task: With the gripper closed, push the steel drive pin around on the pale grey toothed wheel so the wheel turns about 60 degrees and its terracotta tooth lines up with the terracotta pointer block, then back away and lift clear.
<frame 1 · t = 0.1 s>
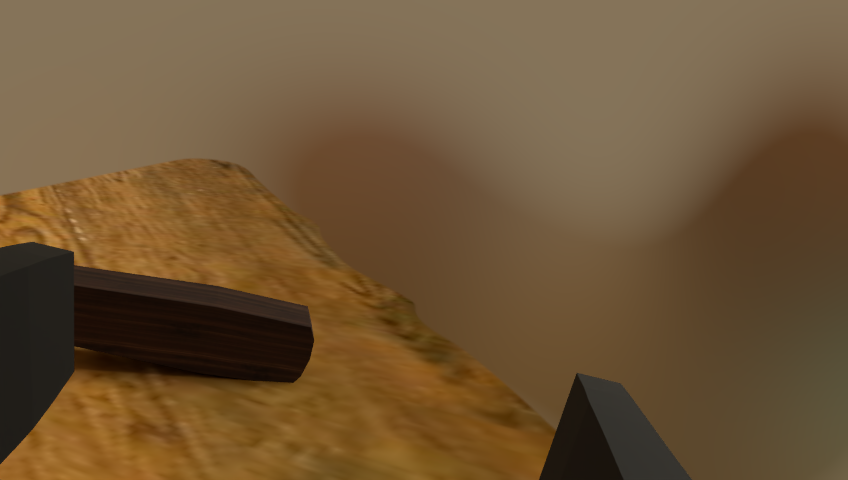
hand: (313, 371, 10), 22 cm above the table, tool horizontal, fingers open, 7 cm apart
hammer: (66, 363, 46), on the table
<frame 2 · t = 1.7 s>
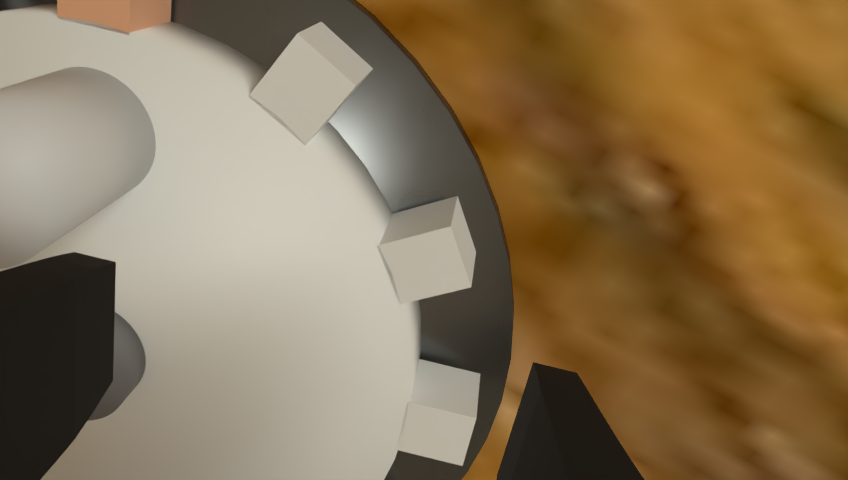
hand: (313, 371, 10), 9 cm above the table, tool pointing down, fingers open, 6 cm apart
sprocket wheel: (69, 371, 18), point 4 cm above the table, hinge at 0.0°
wheel base: (140, 301, 21), on the table
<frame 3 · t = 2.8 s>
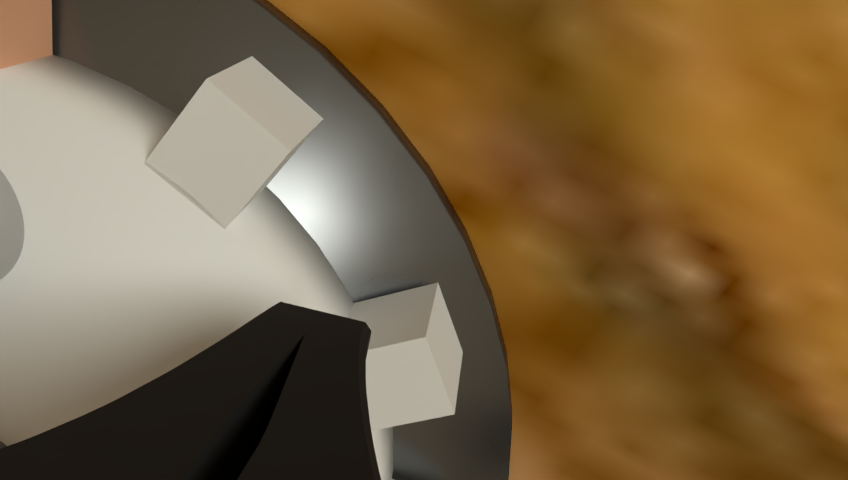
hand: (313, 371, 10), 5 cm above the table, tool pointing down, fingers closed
wheel base: (43, 397, 17), on the table
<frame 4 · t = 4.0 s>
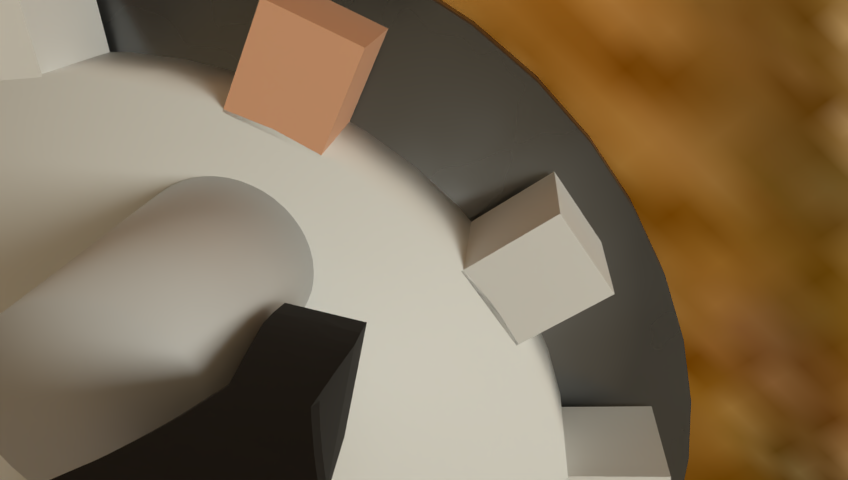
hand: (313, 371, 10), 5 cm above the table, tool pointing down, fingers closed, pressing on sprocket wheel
wheel base: (191, 419, 17), on the table
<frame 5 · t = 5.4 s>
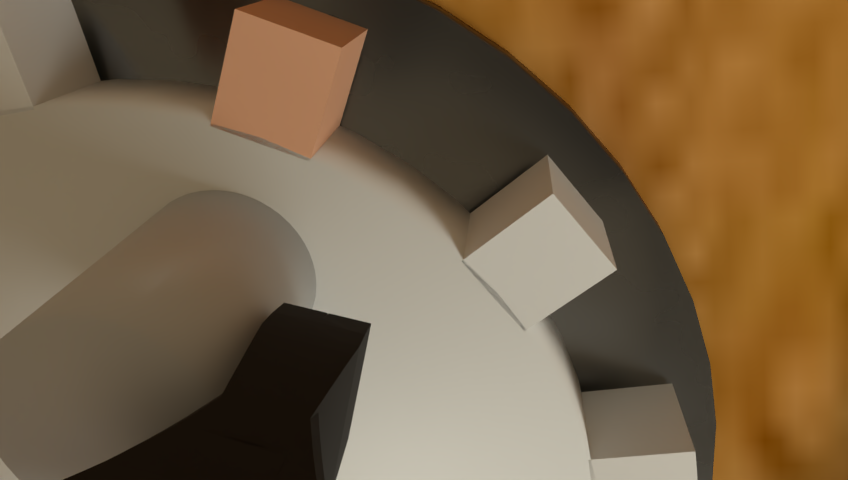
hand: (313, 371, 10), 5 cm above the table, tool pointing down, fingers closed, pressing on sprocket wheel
wheel base: (216, 438, 17), on the table
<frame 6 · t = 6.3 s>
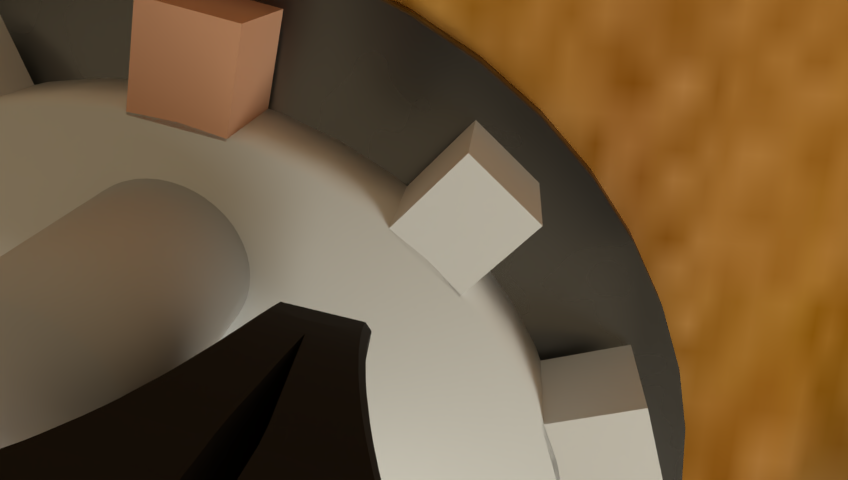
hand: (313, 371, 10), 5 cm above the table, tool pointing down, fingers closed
wheel base: (192, 435, 17), on the table
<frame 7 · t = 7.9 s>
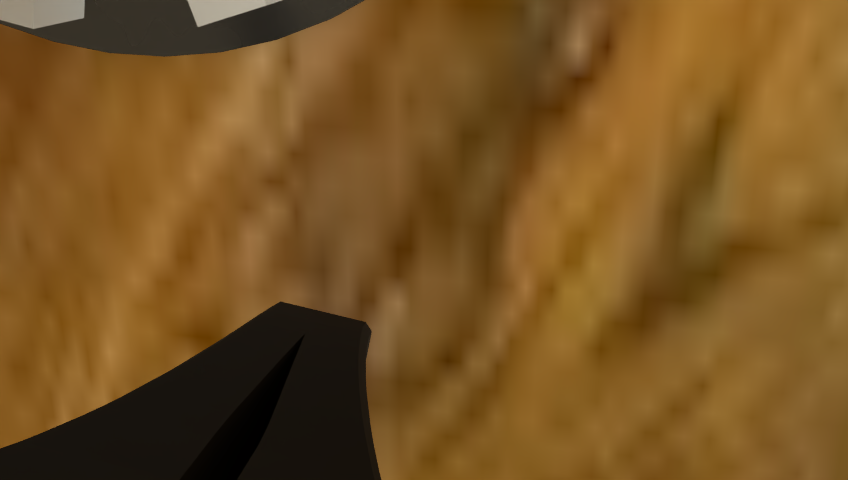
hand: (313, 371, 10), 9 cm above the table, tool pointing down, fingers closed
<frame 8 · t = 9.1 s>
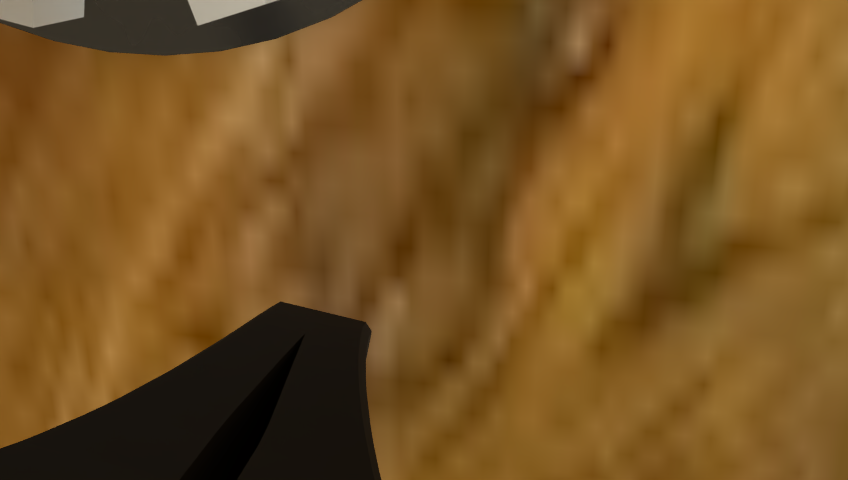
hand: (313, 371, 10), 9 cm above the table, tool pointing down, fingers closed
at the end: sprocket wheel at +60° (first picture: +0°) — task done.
